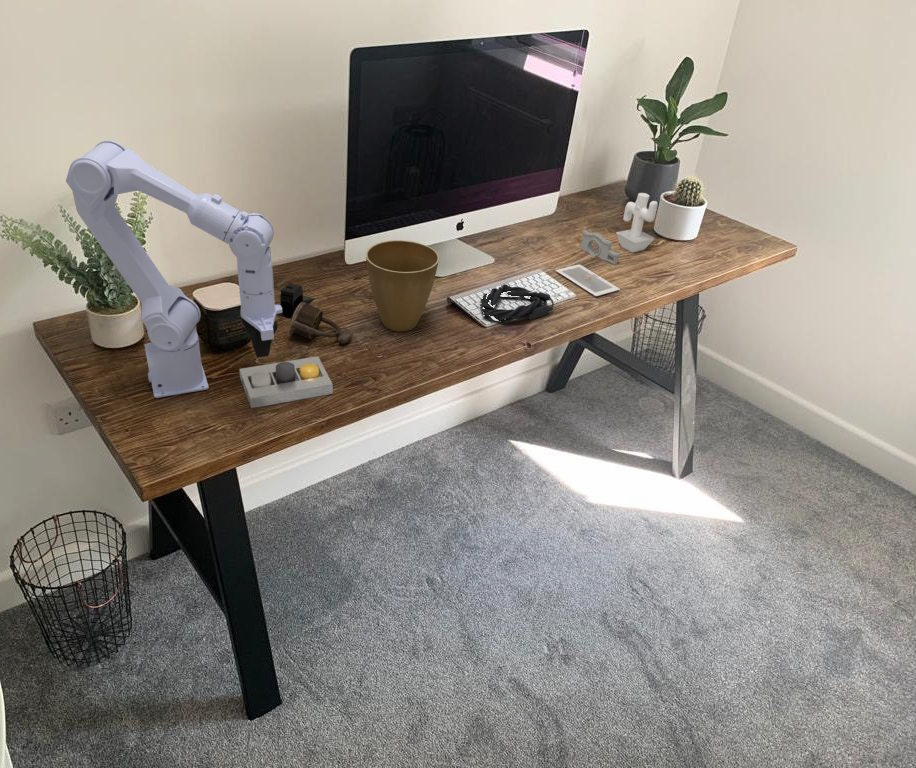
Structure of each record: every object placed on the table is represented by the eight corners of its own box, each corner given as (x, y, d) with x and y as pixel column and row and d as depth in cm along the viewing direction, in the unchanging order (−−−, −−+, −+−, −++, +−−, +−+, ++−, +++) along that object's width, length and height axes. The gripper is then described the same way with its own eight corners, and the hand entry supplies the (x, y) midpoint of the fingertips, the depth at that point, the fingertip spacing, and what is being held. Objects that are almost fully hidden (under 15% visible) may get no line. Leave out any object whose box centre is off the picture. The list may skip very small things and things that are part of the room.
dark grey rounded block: (278, 386, 148) (277, 373, 146) (274, 377, 150) (273, 363, 148) (297, 383, 149) (296, 370, 147) (292, 374, 151) (291, 360, 150)
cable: (501, 333, 172) (503, 315, 170) (461, 306, 181) (462, 289, 179) (559, 313, 182) (561, 296, 179) (518, 288, 190) (520, 272, 188)
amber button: (303, 388, 150) (302, 374, 148) (298, 378, 152) (298, 365, 151) (321, 384, 151) (320, 371, 149) (316, 375, 154) (315, 362, 152)
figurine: (630, 239, 219) (640, 185, 211) (655, 252, 213) (667, 198, 204) (610, 243, 215) (620, 189, 207) (635, 257, 209) (646, 202, 201)
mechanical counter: (311, 294, 170) (278, 302, 161) (359, 308, 164) (327, 316, 155) (310, 327, 172) (277, 336, 164) (357, 341, 166) (325, 352, 158)
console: (251, 408, 144) (250, 398, 142) (240, 378, 151) (239, 368, 150) (332, 393, 149) (332, 383, 148) (318, 365, 157) (318, 356, 155)
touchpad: (595, 300, 189) (596, 292, 187) (554, 274, 199) (555, 266, 197) (619, 293, 192) (621, 285, 191) (578, 268, 203) (580, 260, 201)
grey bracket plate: (618, 264, 205) (622, 242, 202) (614, 266, 204) (618, 244, 201) (582, 247, 212) (586, 226, 209) (578, 249, 211) (581, 228, 208)
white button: (254, 396, 147) (253, 383, 145) (250, 386, 149) (249, 373, 147) (273, 393, 148) (272, 379, 146) (269, 383, 150) (268, 370, 149)
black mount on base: (292, 291, 182) (291, 272, 180) (322, 299, 181) (322, 279, 178) (261, 317, 172) (259, 296, 169) (293, 325, 170) (292, 305, 167)
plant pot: (353, 330, 169) (352, 261, 160) (384, 300, 180) (385, 234, 171) (418, 348, 165) (421, 277, 156) (445, 316, 176) (450, 249, 167)
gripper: (289, 303, 133) (293, 372, 141) (270, 266, 144) (275, 332, 151) (246, 309, 130) (253, 379, 138) (230, 271, 141) (237, 337, 149)
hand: (262, 355), depth 145 cm, fingers closed
